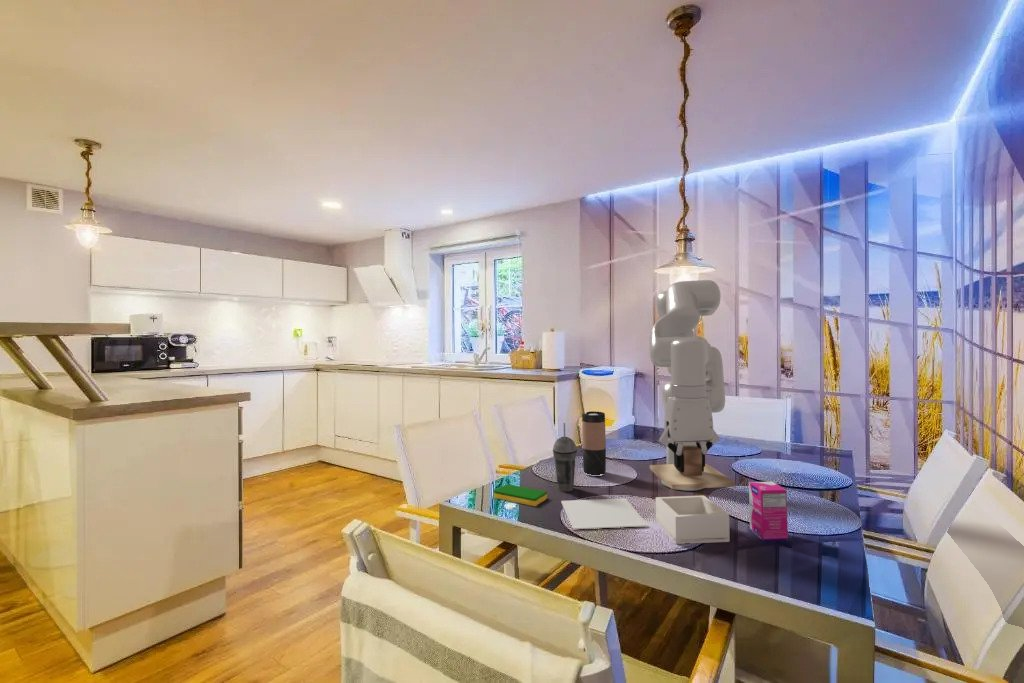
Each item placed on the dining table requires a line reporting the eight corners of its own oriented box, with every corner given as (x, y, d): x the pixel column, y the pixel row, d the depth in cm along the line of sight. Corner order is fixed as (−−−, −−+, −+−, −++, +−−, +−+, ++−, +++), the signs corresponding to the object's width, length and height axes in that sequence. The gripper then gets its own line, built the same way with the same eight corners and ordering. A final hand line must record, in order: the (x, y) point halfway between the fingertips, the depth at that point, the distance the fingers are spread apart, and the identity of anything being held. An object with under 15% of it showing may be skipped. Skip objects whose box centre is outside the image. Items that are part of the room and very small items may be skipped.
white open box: (704, 519, 112) (703, 495, 112) (729, 541, 100) (729, 514, 100) (656, 521, 111) (655, 497, 111) (675, 544, 99) (675, 516, 99)
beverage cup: (577, 485, 140) (576, 420, 140) (578, 493, 133) (577, 424, 132) (553, 484, 141) (552, 420, 140) (553, 492, 133) (551, 424, 133)
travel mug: (608, 476, 147) (607, 415, 147) (584, 477, 147) (583, 415, 147) (604, 469, 155) (602, 411, 155) (581, 470, 155) (580, 411, 155)
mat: (625, 500, 126) (625, 498, 126) (648, 527, 108) (648, 525, 108) (561, 502, 125) (561, 500, 125) (573, 530, 108) (573, 528, 107)
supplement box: (748, 530, 105) (748, 481, 105) (774, 530, 105) (774, 480, 105) (761, 541, 100) (760, 489, 100) (789, 541, 99) (788, 489, 99)
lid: (705, 466, 113) (704, 438, 113) (735, 486, 99) (734, 454, 99) (649, 469, 113) (649, 441, 113) (672, 489, 99) (671, 457, 99)
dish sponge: (506, 491, 137) (506, 483, 137) (547, 499, 129) (547, 491, 129) (493, 499, 131) (493, 490, 131) (535, 507, 123) (535, 499, 123)
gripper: (715, 388, 110) (716, 463, 110) (647, 391, 109) (648, 466, 109) (732, 393, 102) (733, 473, 103) (658, 395, 101) (660, 477, 102)
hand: (689, 469), depth 106 cm, fingers closed on lid, 4 cm apart
